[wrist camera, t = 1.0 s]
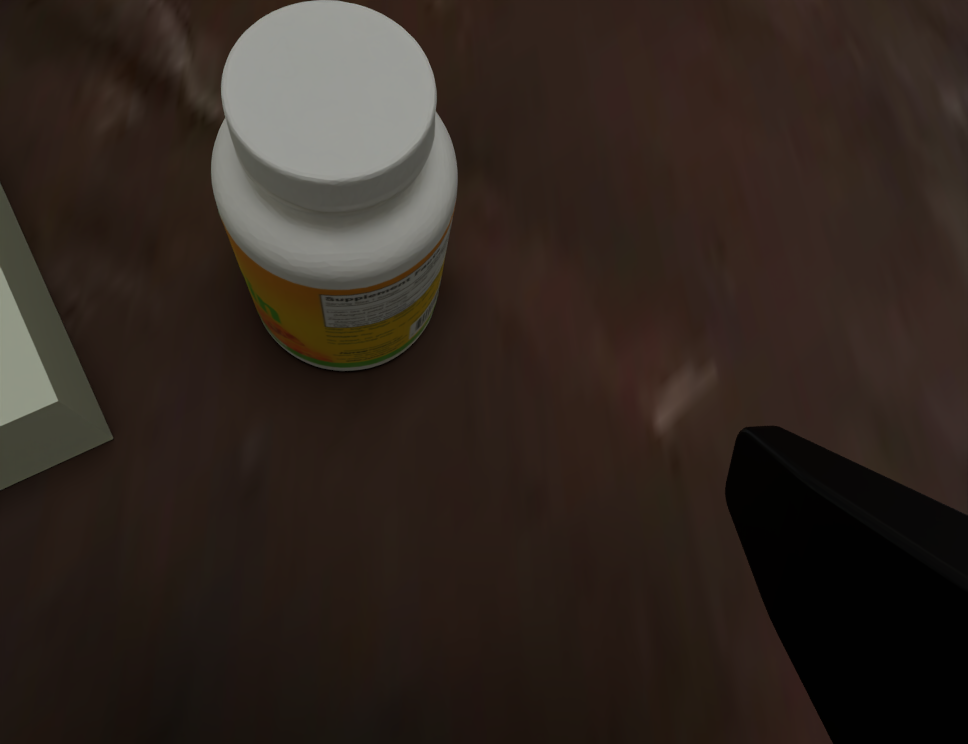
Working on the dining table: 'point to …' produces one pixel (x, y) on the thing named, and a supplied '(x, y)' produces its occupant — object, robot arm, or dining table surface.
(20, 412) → the plinth
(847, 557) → the robot arm
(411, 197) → the supplement bottle
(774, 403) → the dining table surface
